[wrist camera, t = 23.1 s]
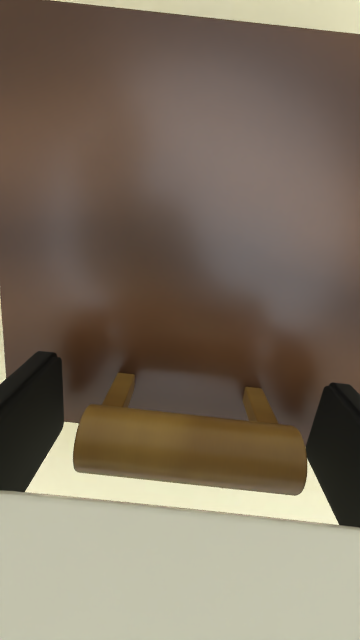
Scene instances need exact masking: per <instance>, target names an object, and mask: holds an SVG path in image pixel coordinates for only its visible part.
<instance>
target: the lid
mask: <svg viewBox="0 0 360 640" xmlns="http://www.w3.org/2000/svg"><path fill="white" fill-rule="evenodd" d="M0 295H1V309H2V324H3V338H4V352H5V367H6V379H7V378H8V377H9V376H10V375H11V374H12V373H13V372H15V371H16V370H17V369H18V368H19V367H20V366H21V365H22V364H24V363H25V362H26V361H27V360H28V359H29V358H30V357H31V356H33V355H34V354H35V353H36V352H37V351H45V352H54V353H56V354H57V357H60V358H61V359H62V377H63V404H64V422H73V423H79V426H78V429H77V433H76V438H75V443H74V451H73V465H74V469H75V471H77V472H79V473H89V474H98V475H107V476H117V477H126V478H135V479H145V480H154V481H163V482H173V483H182V484H191V485H201V486H210V487H219V488H229V489H238V490H247V491H257V492H266V493H275V494H285V495H294V496H295V495H298V494H300V493H301V492H302V491H303V489H304V486H305V483H306V478H307V455H306V449H305V447H306V444H307V441H308V437H309V434H310V431H311V428H312V424H313V421H314V418H315V415H316V411H317V408H318V405H319V402H320V398H321V395H322V392H323V389H324V387H325V386H329V384H330V383H332V382H334V383H343V384H350V385H351V386H352V387H353V388H354V389H355V390H356V391H357V392H358V393H359V394H360V34H352V33H343V32H334V31H325V30H316V29H307V28H297V27H288V26H279V25H270V24H261V23H252V22H243V21H233V20H224V19H215V18H206V17H197V16H188V15H179V14H170V13H160V12H151V11H142V10H133V9H124V8H115V7H106V6H96V5H87V4H78V3H69V2H60V1H51V0H0Z"/></svg>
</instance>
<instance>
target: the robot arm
mask: <svg viewBox="0 0 360 640" xmlns="http://www.w3.org/2000/svg"><path fill="white" fill-rule="evenodd" d="M63 424H64V404H63V377H62V359H61V358H60V357H57V354H56V353H54V352H45V351H37V352H36V353H35V354H34V355H33V356H31V357H30V358H29V359H28V360H27V361H26V362H25V363H24V364H22V365H21V366H20V367H19V368H18V369H17V370H16V371H15V372H13V373H12V374H11V375H10V376H9V377H8V378H7V379H6V380H4V381H3V382H2V383H1V384H0V640H360V394H359V393H358V392H357V391H356V390H355V389H354V388H353V387H352V386H351V385H350V384H343V383H334V382H332V383H330V384H329V386H325V387H324V389H323V392H322V395H321V398H320V402H319V405H318V408H317V411H316V415H315V418H314V421H313V424H312V428H311V431H310V434H309V437H308V441H307V444H306V455H307V459H308V461H309V463H310V465H311V467H312V469H313V471H314V473H315V475H316V477H317V479H318V481H319V484H320V486H321V488H322V490H323V492H324V494H325V496H326V498H327V500H328V502H329V504H330V506H331V509H332V511H333V513H334V515H335V517H336V519H337V521H338V523H339V525H333V524H324V523H315V522H306V521H297V520H288V519H280V518H271V517H262V516H252V515H243V514H234V513H225V512H215V511H206V510H196V509H187V508H177V507H168V506H158V505H149V504H139V503H129V502H119V501H109V500H99V499H89V498H79V497H69V496H59V495H48V494H38V493H27V492H25V491H26V489H27V487H28V486H29V484H30V482H31V481H32V479H33V477H34V476H35V474H36V472H37V471H38V469H39V467H40V466H41V464H42V462H43V461H44V459H45V457H46V456H47V454H48V452H49V451H50V449H51V447H52V446H53V444H54V442H55V441H56V439H57V437H58V436H59V434H60V432H61V430H62V428H63Z"/></svg>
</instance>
